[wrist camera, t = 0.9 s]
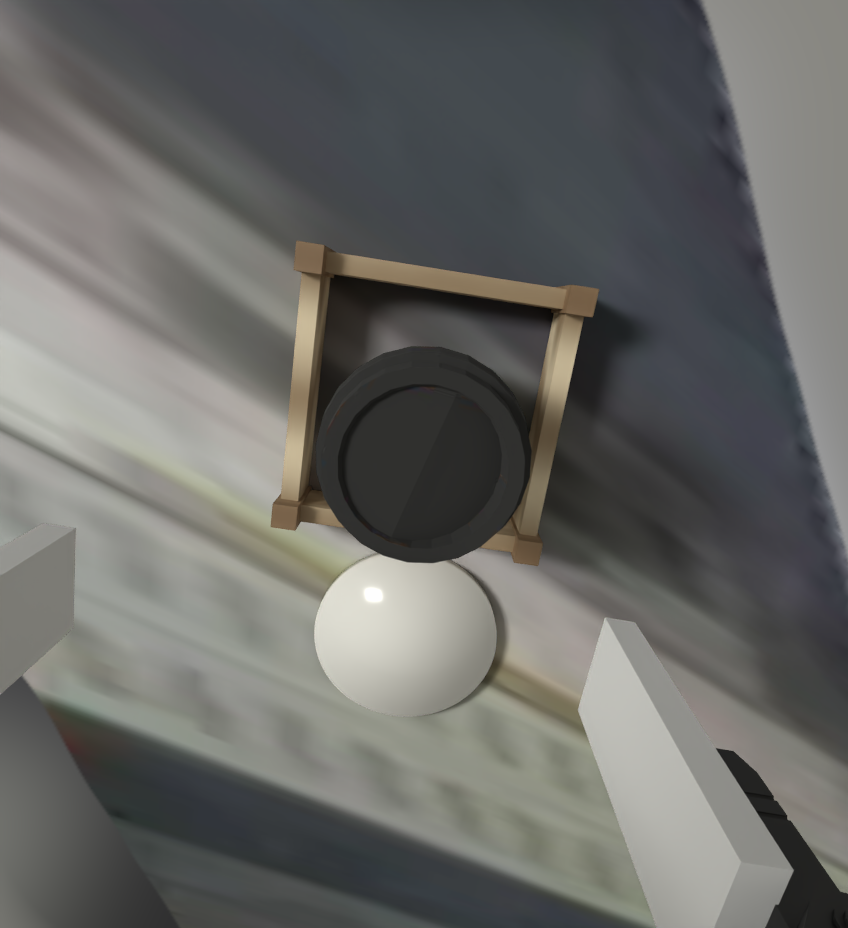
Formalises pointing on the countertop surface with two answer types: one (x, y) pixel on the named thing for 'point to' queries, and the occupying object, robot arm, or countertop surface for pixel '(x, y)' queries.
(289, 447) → the wooden frame
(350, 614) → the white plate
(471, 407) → the coffee cup
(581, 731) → the countertop surface
